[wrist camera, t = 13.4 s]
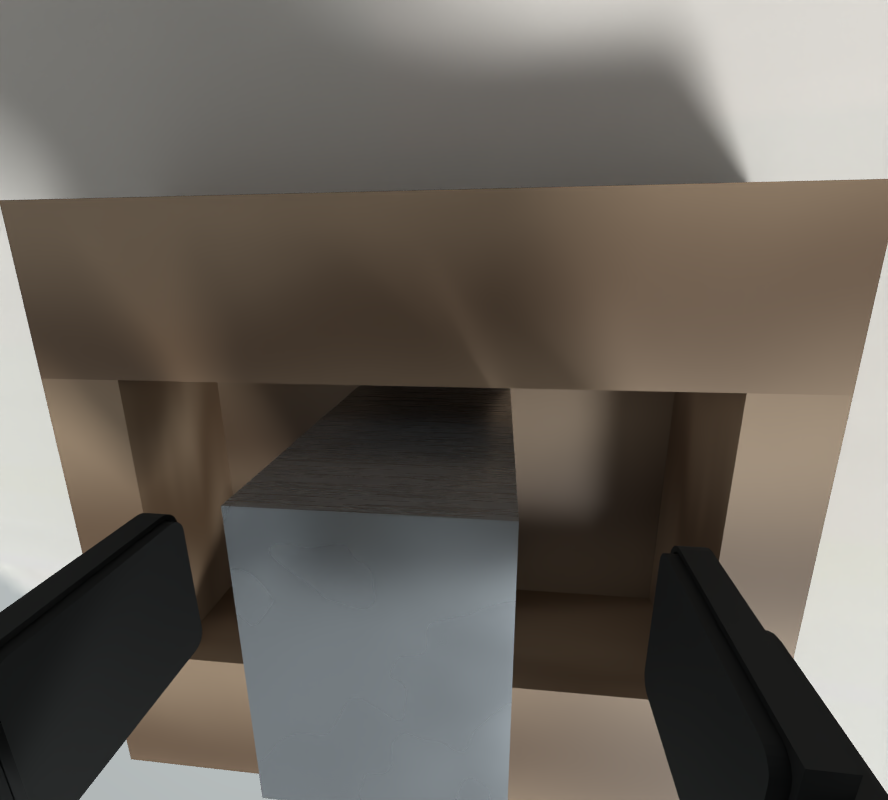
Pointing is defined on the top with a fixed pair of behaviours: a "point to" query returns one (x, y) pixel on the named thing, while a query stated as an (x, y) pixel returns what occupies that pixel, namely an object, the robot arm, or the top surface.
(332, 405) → the walnut well
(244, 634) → the tall blue-grey block
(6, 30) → the top surface
